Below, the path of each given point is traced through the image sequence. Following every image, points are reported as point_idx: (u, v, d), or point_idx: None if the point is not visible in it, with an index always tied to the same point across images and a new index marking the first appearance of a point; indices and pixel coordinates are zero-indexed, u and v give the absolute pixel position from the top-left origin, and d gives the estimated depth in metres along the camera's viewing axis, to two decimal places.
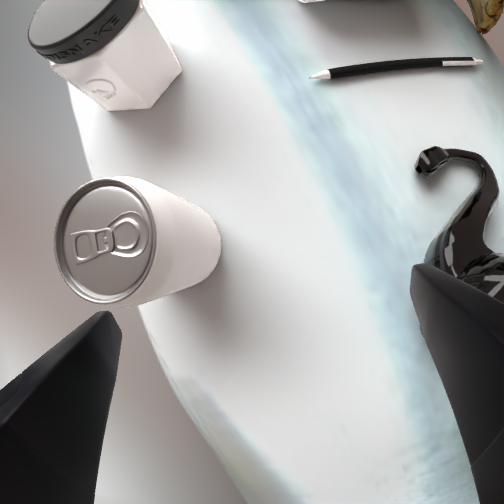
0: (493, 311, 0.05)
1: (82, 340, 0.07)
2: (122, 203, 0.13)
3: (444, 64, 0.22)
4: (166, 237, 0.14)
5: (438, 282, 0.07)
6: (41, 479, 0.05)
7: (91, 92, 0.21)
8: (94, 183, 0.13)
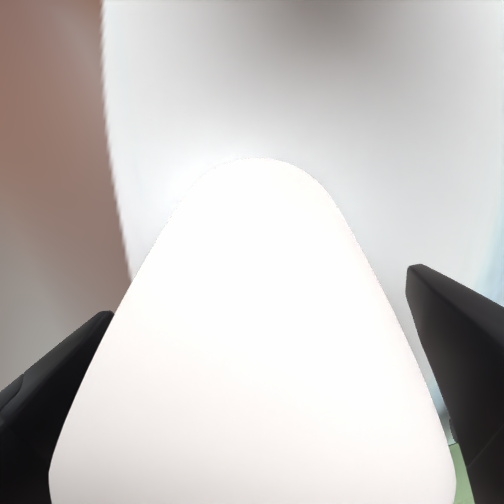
0: (488, 313, 0.05)
1: (84, 340, 0.07)
2: None
3: None
4: None
5: (433, 283, 0.07)
6: (43, 480, 0.05)
7: None
8: None
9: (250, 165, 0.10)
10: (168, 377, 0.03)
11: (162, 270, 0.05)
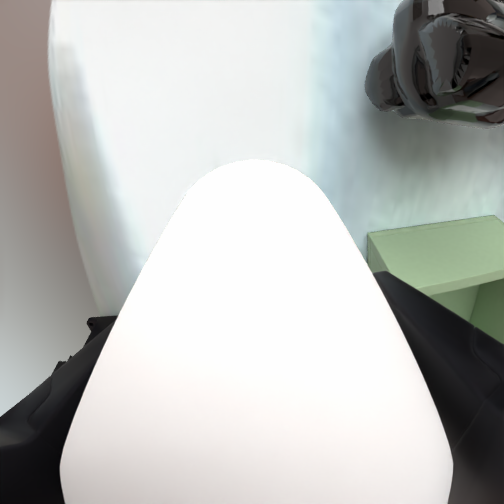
0: (446, 325, 0.05)
1: None
2: None
3: None
4: None
5: (393, 292, 0.07)
6: None
7: None
8: None
9: (248, 167, 0.10)
10: (180, 361, 0.03)
11: (167, 266, 0.05)
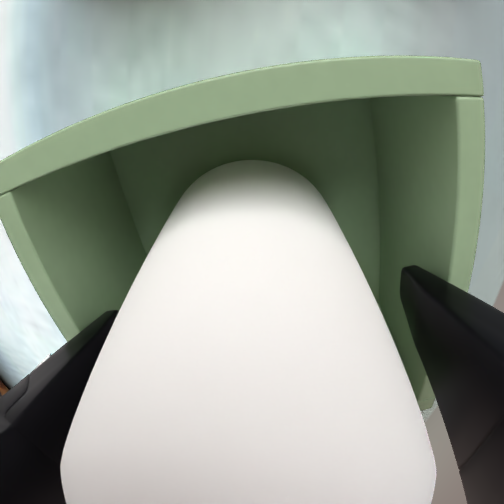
0: (481, 315, 0.05)
1: (92, 340, 0.07)
2: None
3: None
4: None
5: (427, 285, 0.07)
6: (51, 482, 0.05)
7: None
8: None
9: (244, 167, 0.10)
10: (170, 371, 0.03)
11: (162, 273, 0.06)
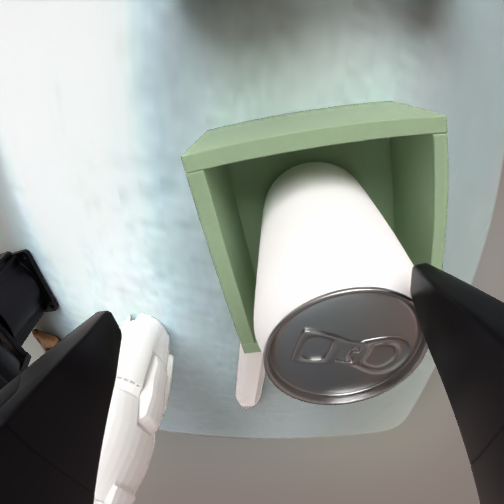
0: (493, 311, 0.05)
1: (82, 340, 0.07)
2: (399, 326, 0.09)
3: None
4: None
5: (439, 282, 0.07)
6: (41, 479, 0.05)
7: None
8: None
9: (317, 166, 0.17)
10: (327, 234, 0.10)
11: (300, 211, 0.13)
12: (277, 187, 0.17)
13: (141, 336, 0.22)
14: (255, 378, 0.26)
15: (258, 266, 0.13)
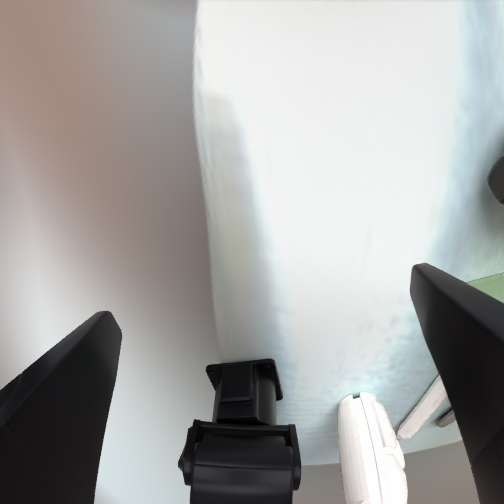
0: (493, 311, 0.05)
1: (82, 340, 0.07)
2: None
3: None
4: None
5: (439, 282, 0.07)
6: (41, 479, 0.05)
7: None
8: None
9: None
10: None
11: None
12: None
13: (382, 412, 0.28)
14: (424, 420, 0.32)
15: None
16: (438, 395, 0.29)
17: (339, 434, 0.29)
